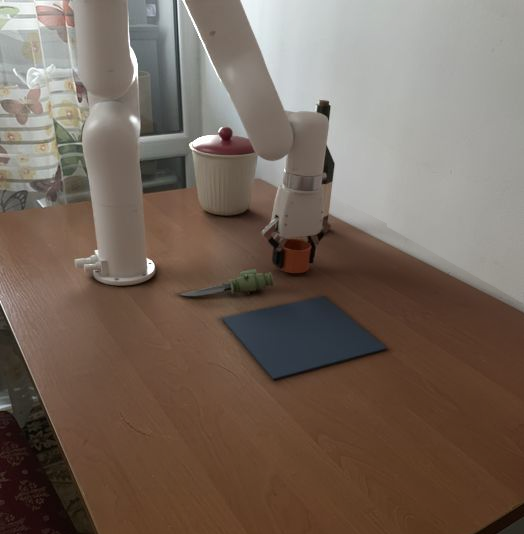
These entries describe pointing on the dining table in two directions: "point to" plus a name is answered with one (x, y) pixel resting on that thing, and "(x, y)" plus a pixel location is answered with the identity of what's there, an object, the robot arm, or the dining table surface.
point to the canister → (224, 172)
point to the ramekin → (296, 255)
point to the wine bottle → (326, 162)
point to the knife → (238, 284)
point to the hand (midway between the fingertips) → (293, 263)
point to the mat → (301, 336)
